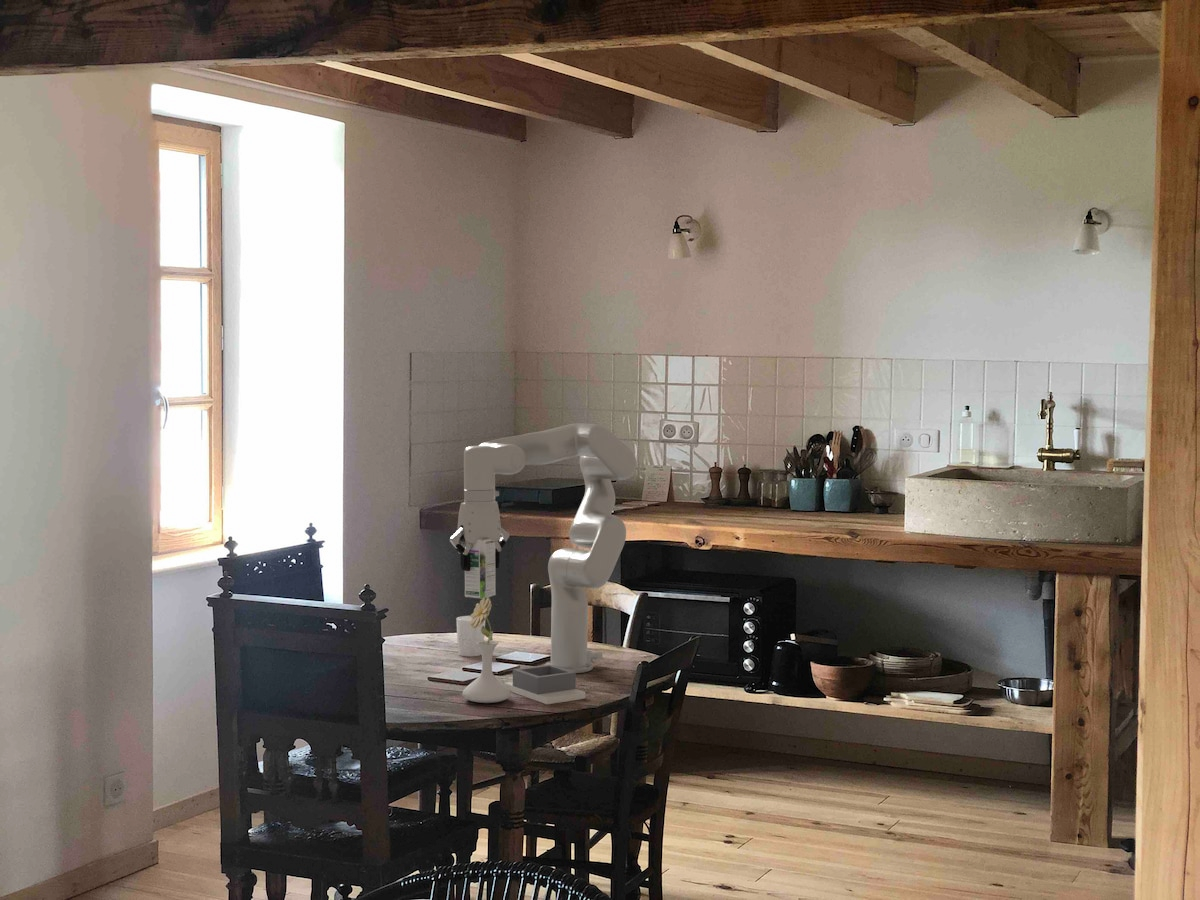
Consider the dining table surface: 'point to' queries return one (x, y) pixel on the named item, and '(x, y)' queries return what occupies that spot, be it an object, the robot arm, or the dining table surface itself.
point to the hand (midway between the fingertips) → (480, 568)
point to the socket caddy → (545, 684)
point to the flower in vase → (485, 663)
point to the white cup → (468, 637)
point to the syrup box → (481, 570)
